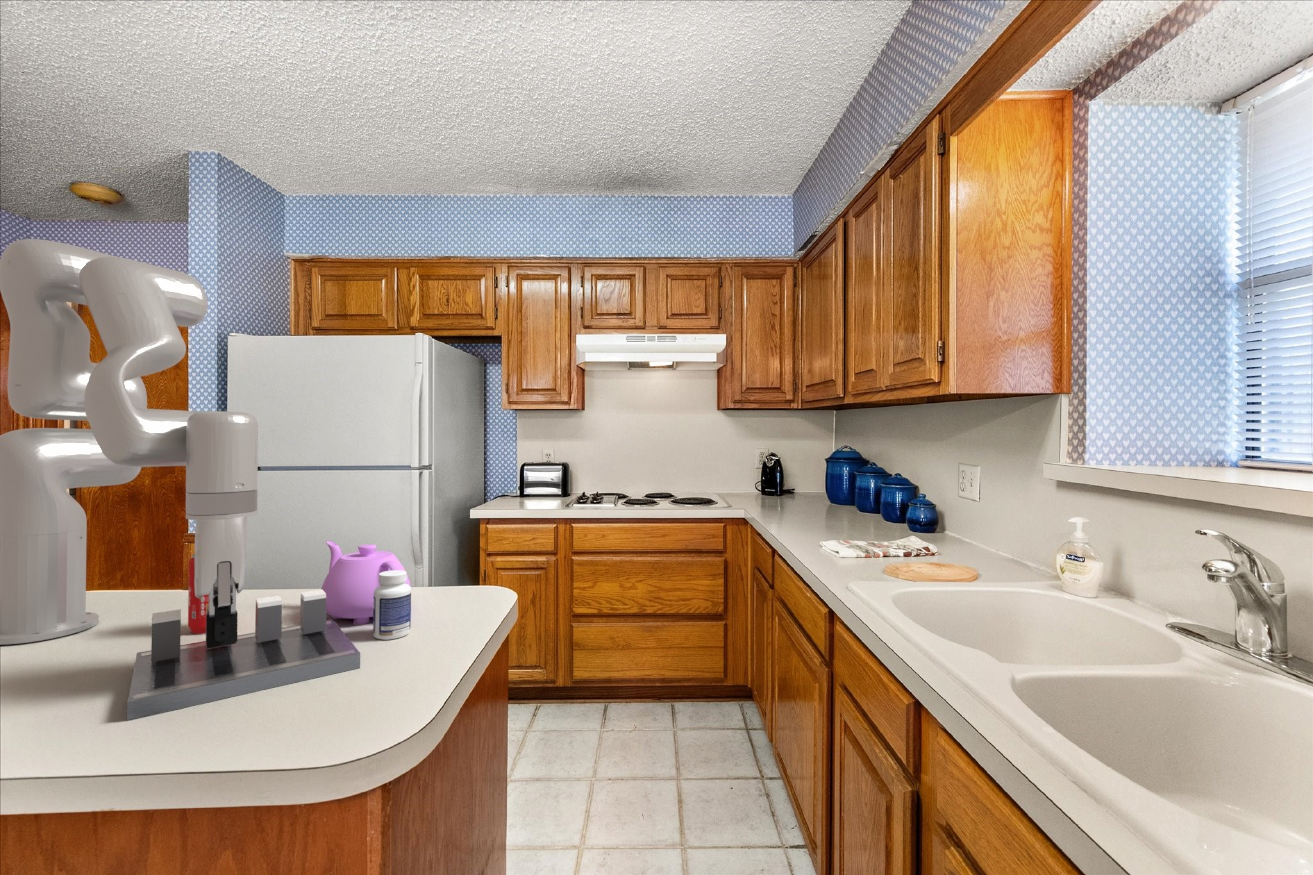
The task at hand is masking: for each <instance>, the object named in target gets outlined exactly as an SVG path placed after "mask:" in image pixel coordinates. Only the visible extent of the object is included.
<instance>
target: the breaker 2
mask: <svg viewBox="0 0 1313 875" xmlns="http://www.w3.org/2000/svg"><path fill="white" fill-rule="evenodd" d="M282 615H283V600H282V598H281V596H280V595H274V596H273V595H272V596H266V597H260V598H259V597H258V598H255V626H254V627H255V631H254V633H255V638H256V640H257V643H259V642H264V641H270V640H275V639H281V637H282V628H283V627H282V626H283V625H282V624H283V616H282Z"/></svg>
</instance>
